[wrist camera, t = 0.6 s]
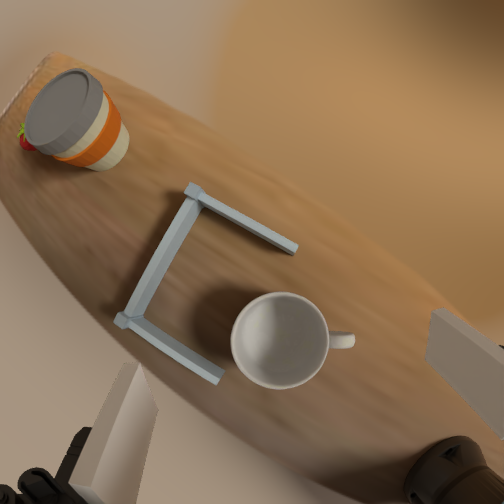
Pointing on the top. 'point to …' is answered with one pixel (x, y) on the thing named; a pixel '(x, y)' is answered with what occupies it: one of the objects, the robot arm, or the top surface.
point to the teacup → (283, 340)
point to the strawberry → (25, 140)
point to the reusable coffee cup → (77, 122)
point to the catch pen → (160, 264)
